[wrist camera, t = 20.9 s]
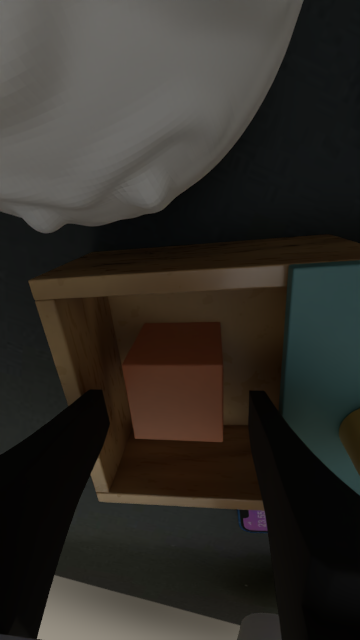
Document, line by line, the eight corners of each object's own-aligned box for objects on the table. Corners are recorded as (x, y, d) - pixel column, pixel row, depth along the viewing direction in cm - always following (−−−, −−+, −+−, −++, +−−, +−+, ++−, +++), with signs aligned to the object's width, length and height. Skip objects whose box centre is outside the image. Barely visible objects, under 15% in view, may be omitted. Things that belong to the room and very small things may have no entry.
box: (91, 252, 15) (27, 280, 10) (330, 233, 14) (405, 256, 8) (128, 423, 20) (98, 502, 15) (306, 425, 19) (343, 516, 13)
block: (151, 384, 18) (134, 439, 14) (143, 322, 16) (120, 364, 12) (220, 385, 17) (223, 442, 13) (220, 321, 15) (223, 365, 11)
